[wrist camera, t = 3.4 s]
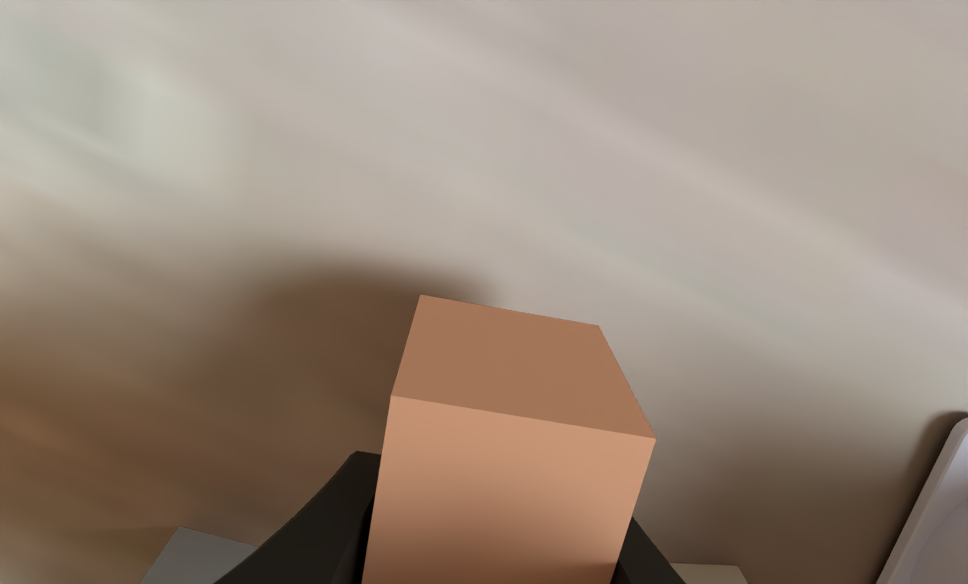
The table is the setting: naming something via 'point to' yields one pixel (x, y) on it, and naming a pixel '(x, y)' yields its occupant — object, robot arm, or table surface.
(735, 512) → the table surface
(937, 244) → the table surface
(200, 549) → the slate brick
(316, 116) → the table surface
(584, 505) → the terracotta brick
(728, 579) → the grey brick
